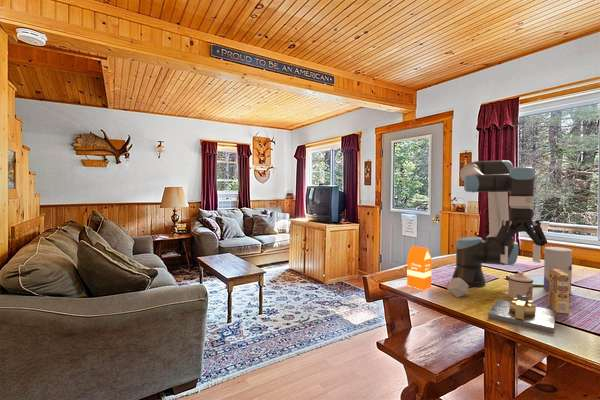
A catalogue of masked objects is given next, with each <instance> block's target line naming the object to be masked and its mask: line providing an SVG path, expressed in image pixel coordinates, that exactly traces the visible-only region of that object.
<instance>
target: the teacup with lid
mask: <svg viewBox="0 0 600 400" xmlns="http://www.w3.org/2000/svg"><path fill="white" fill-rule="evenodd" d="M507 278H508V297H509V298H510V299H512V300H513V298H517V295H518V294H521V295H526V296H528V297H529V301H533V291H534V289H533V285H534V284H533V283H534V279H533V278H532V277H529V276H527V275H526V274H524V272H523V271H518V272H517V273H515V274H511V275H508V277H507Z"/></svg>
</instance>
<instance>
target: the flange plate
mask: <svg viewBox="0 0 600 400" xmlns="http://www.w3.org/2000/svg"><path fill="white" fill-rule="evenodd" d="M517 300H520V301H526V303H525V305H526V304H528V301H529V297H528V296H526V295H521V294H518V295H517ZM556 313H557V312H556V311H555V310H554V309H549V308H545V307H540V306H536V314H535V315H525V317H524V320H522V319H518V318H515V312H512V311H511V310H510V300H504V299H499V298H498V299H496V300H495V303H494V304H493V305H492V307H491V308H490V310H489V312H488V315H487V316H488V317H487V318H488V319H490V320H493V321H498V322H503V323H506V324H511V325H515V326H518V327H523V328H528V329H531V330H536V331H541V332H545V333H549V334H554V333H555V324H556V323H555V322H556V317H557V314H556Z"/></svg>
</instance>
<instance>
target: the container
mask: <svg viewBox="0 0 600 400" xmlns="http://www.w3.org/2000/svg"><path fill="white" fill-rule="evenodd" d="M543 262H544V265H543V289H544V290H546V291H548V292H549V269H557V270H561V271H563V272H565V273H566V274H568V275H569V294H571V293H572V276H573V275H572V274H573V273H572V271H573V265H572V264H573V250H572V249H571V248H567V247H559V246H545V247H544V260H543Z"/></svg>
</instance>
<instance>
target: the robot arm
mask: <svg viewBox="0 0 600 400" xmlns="http://www.w3.org/2000/svg"><path fill="white" fill-rule="evenodd" d="M534 170H535V169H534V168H533V167H532V166H517V167H514V166H513V163H512V162H511V160H506V159H505V160H504V159H502V160H501V159H499V160H476V161H472V162H469V163H467V164H465V165H463V166H462V167H461V169H460V171H459V177H460V179H461V180H462V182H463V187H464V191H465V193H466V192H467V193H487V194H488V195H487V200H488V205H487V206H488V223H489V224H488V232H489V233H488V235H487V236H486V237H485V239H486V240H484V239H483V238H482V237H479V236H467V237H466V236H465V237H461V238H459V239H457V240H456V245H455V250H456V253H455V254H456V255H455V256H456V258H455V268H454V272H453V274H452V277H451V279H453V278H458V277H459V278H461V279H462V280H464V281H465V282H466V283H467V284H468V285H469V286H468V287H473V288H474V287H476V288H479V287H481V288H482V287H484V286H485V285H486V278H485V276H484V275H485V274H484V272H483V268H482V265H483V264H485V265H495V266H500V265H501V266H514V264H516V262H517V260H518V255H519V243H518V242H517V241H514V237H515V234H517V233H521V232H523V233H526V234H527V236H528V237H529V238H530V239H531V241H532V242H533V243H534V244H533V245H532V262H534V263H537V264H541V261H542V259H541V255H542V253H543V247H544V246H545V245H547V244H548V241H547V238H546V235H545V234H544V231H543V228H542V227H541V220H540V219H533V218H534V208H533V207H534V194H535V193H534V191H535V190H534V186H535V183H534V182H535V171H534ZM508 193H509V196H508ZM509 207H510V208H509Z"/></svg>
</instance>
